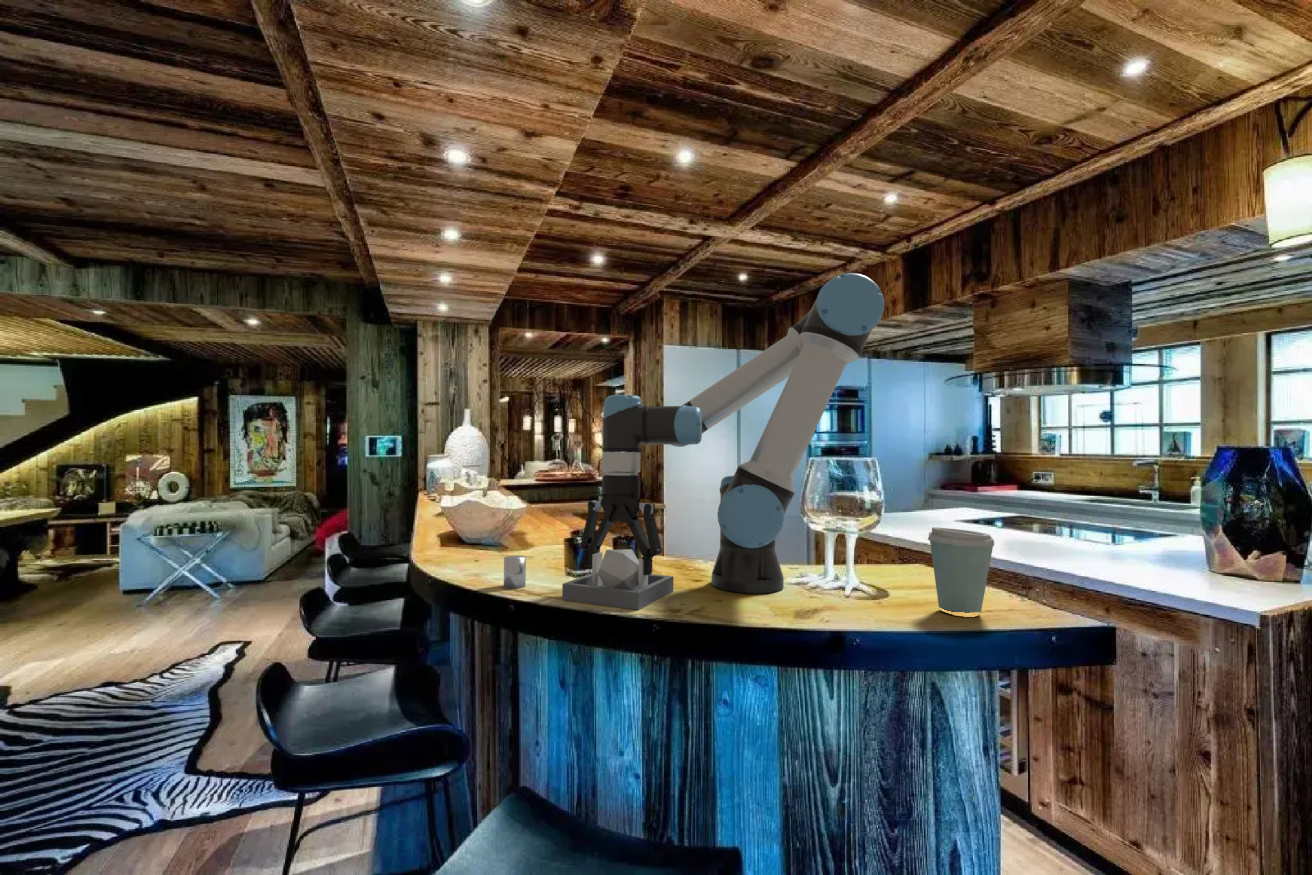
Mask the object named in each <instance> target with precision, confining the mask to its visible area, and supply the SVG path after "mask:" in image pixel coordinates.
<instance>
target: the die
mask: <svg viewBox="0 0 1312 875" xmlns="http://www.w3.org/2000/svg"><path fill="white" fill-rule="evenodd" d="M598 575H599V577H600V579H601V581H602V583H603V585H604V587H608V588H616V589H625V590H633V591H634V589H635V586H636V584H637V581H638V575H639V558H638V557H637V555H636V554H635V553H634V551H633V549H630V548H629V549H626V548H625V549H606V550H605V553H604V555H603V557H602V563H601V566H600V568H599V571H598Z"/></svg>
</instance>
